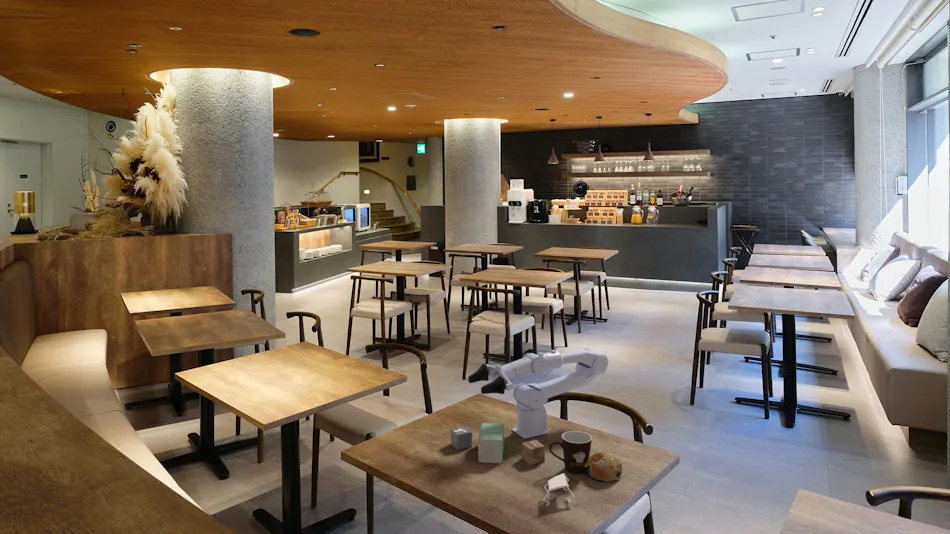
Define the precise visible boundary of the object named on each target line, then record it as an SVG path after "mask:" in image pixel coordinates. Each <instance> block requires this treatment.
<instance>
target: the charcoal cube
mask: <svg viewBox="0 0 950 534" xmlns="http://www.w3.org/2000/svg"><path fill="white" fill-rule="evenodd" d="M472 434H473V433H472V431H471V430H470V429H469V428H468V427H466V426H461V427H456V428H451V429H450V445H451V446H453V448H454V449H456V450H457V451H459V449H460V450H463V448H465V449H467V448H472V447H473V446H472V445H473V435H472Z"/></svg>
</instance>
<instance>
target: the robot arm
mask: <svg viewBox="0 0 950 534" xmlns="http://www.w3.org/2000/svg"><path fill="white" fill-rule="evenodd" d="M569 364H576V365H575V369H574V370H575V372H571V373H568V374H565V375H562V376H559V377H556V378H553V379H549V380H547V381H545V382H544V381H543V382H541V383H532V382H531V383H528V384H527V383H518V384H517V385H516V386H515V387H513V383H512V382H514V381H516V380H519V379H521V378H522V379H523V378H525V377H526V376H529V375H532V374H536V375H542V374H543V373H545V371H551V370H555V369H560V368H561V367H562V366H563V365H569ZM495 365H496V366H494V365H491V364H489V363H482V364H481V365H480V367H479V368H478V369H477V370H476V371H475V372H474V373H473V372H472V374H470V375H469V376H467V377H468V378H467V379H468V383H469V384H474V383H477V382H481V381H482V382H488V381H490V380H489V376H491V378H492V379H493V381H491V382H489V383H487V384H485V385H483V386H481V387H480V394H482V395H487V394H488V395H489V394H499V395H504V394H505V390H506V391H507V392H509V391H511V390H513V392H512V396H513V399H514V400H515V402H516V405H517V406H516V407H517V410H516V411H517V412H516V414H517V415H516V420H517V421H516V423H517V424H516V427H514V428H512V429H511V431H513V432H514V433H515V434H517V435H518V436H519V437H521V438H522V439H528V438H534V437H537V436H543V435H546V434H547V435H548V433H549V432H548V431H547V430H548V414H547V413H548V412H547V409H546V407H545V406H544V405H545V404H548V399H551V398H552V397H556V396H559V395H562V394H565V393H567V392H571V391H573V390H576V389H579V388H581V387H585V386H588V385H589V384H590V383H591V382H593V380H595V379H596V378H597V377H598V376H600V375H602V374H605V373H606V371H607V368H608V365H609V358H608V356H607V355H606V354H605V353H604V354H603V353H600V352H597V351H594V350H591V349H589V348H580V349H578V350H573V351H569V352H564V353H560V352H559V351H556V350H554V349H552V350H551V349H550V352H549V351H547V352H541V351H540V352H538V353H537V354H535V353H533V352H532V353H531V352H530V353H529V352H527V353H526V354H524V355H523V357H522V358H520V359H517V360H514V361H511V362H508V363H507V364H506V363H505V364H503V365H499V364H495Z"/></svg>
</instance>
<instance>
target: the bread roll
mask: <svg viewBox="0 0 950 534" xmlns="http://www.w3.org/2000/svg"><path fill="white" fill-rule="evenodd" d="M622 465H623V463H621V461H620V458H618V457H617V456H615V454H614V453H611V452H607V451H601V452H595V453H593V454H591V456H589V458H588V460H587V463H586V464H585V468H586V470H587V472H586V473H587V474H588V475H589V476H590V477H591V478H593V479H594V480H596V481H602V482H603V481H604V482H614V480H616V482H617V481H619V480H620V477H621V476H622V473H623V466H622Z"/></svg>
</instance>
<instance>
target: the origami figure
mask: <svg viewBox="0 0 950 534" xmlns="http://www.w3.org/2000/svg"><path fill="white" fill-rule="evenodd" d="M569 481H570V479H569V477H567V475H566V473H561V474H559V475H555V476H554V477H552V478H551V479H549V480H547V483H546V484H545V485H544V486H543V487H544V490H545V491H546V494H545V496H544V497H543V498H542V501H544V502H545V503H546V505H545V506H546V507H548V506H549V505H550V503H551V502H550V501H548V500H546V499H549V497H550V492H551V491H555V490H558V489H563V490H564V491H565V492H569V494H570V495H569V496H565V499H566V501H567V502H568V503H569V504H570V503H571V504H572V502H571V501H570V499H571V498H575V495H574V493H573V492H572V490H571V489H570V488H569V487H570V485H569V484H568V482H569ZM547 486H548V489H547ZM566 488H567V489H566Z"/></svg>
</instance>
